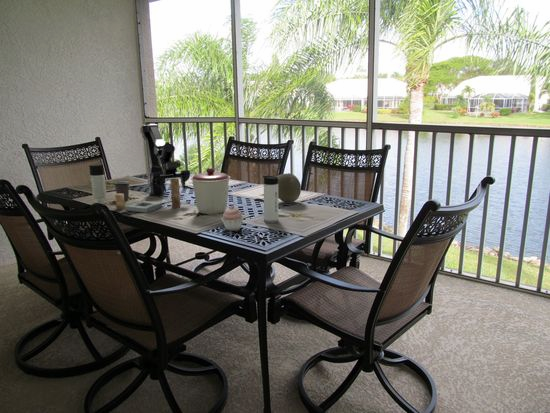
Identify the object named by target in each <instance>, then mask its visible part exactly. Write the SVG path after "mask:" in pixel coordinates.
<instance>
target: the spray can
mask: <svg viewBox="0 0 550 413" xmlns="http://www.w3.org/2000/svg"><path fill="white" fill-rule="evenodd" d="M88 167H89V176H90V184H91V185H90V186H91V193H92V200H93V201H92V202H93V204H94V203H103V204H102V205H106V204H108V197H107V196H108V195H107V188H106V178H105V176H106V175H105V168H104V164H103V163H93V164H89V166H88Z"/></svg>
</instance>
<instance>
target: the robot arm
mask: <svg viewBox="0 0 550 413" xmlns="http://www.w3.org/2000/svg"><path fill="white" fill-rule="evenodd" d="M139 130H140V133H141V135H142V139H143V140H145V142H146V146H147V151H148V158H149V162H150V168H149V170H148V176H147V184H148V185H150V193H149V196H157V197H159V196H162V195H165V194H166V193H167V187H166V185H165V184H166V181H167V179H168V180H170V179H174V178H177V179H179V180H180V185H181V188H182V190H183V191H184V190H186V182H187V181H189V179H190V178H191V177H190V176H191V172H190V170H189V169H182V170H180V173H177V172H178V170H177V169H178V168H180V167H181V166H182V164H181V161H180V160H179V159H178V160H175V161H172V160H173V157H174V154H175V151H176V146H174V145H173V144H171V143H170V142H169V141H168V142H167V141H164V140H163V138H162V135H161V132H160V131H159V126H158V124H156V123H153V124H151V123H150V124H142V126H140V129H139Z"/></svg>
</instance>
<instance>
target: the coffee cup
mask: <svg viewBox="0 0 550 413" xmlns="http://www.w3.org/2000/svg"><path fill="white" fill-rule="evenodd" d="M130 183H131V182H130V181H128V180H117V181H115V182H113V185H114V188H115V192H116V194H124V201H128V200H129V199H130V198H129V195H130V194H129V193H130V191H129V190H130Z"/></svg>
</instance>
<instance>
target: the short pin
mask: <svg viewBox="0 0 550 413" xmlns="http://www.w3.org/2000/svg"><path fill="white" fill-rule="evenodd" d="M114 196H115V205H116V206H115V207H116V210H124V209H125V210H126V203H125V201H126V200H125V201H124V194H117V193H116V194H114Z"/></svg>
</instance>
